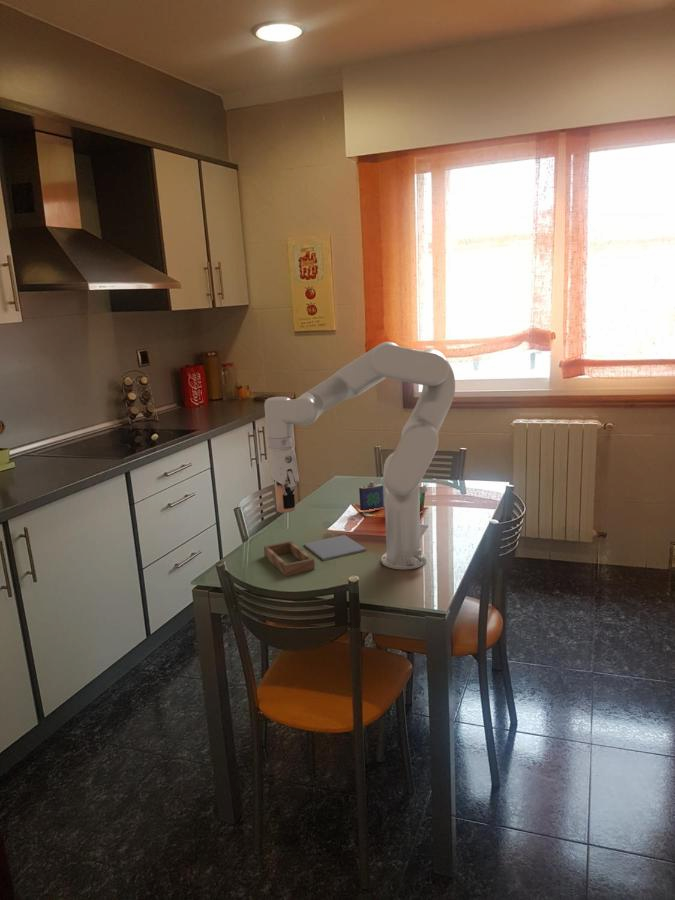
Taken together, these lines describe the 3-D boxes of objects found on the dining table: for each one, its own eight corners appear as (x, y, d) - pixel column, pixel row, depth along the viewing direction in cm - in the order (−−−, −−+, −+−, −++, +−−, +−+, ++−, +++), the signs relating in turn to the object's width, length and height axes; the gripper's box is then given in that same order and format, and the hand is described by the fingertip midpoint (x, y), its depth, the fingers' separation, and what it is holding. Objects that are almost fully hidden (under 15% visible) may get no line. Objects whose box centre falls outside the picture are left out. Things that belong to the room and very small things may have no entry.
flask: (382, 507, 234) (381, 478, 232) (386, 509, 232) (385, 480, 229) (358, 511, 231) (357, 482, 228) (362, 514, 228) (361, 484, 225)
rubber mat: (366, 550, 194) (366, 548, 194) (323, 560, 189) (323, 558, 188) (344, 536, 207) (344, 534, 207) (303, 545, 201) (303, 543, 201)
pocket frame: (314, 569, 183) (314, 559, 182) (285, 576, 179) (285, 565, 178) (291, 550, 198) (290, 540, 197) (264, 556, 194) (263, 546, 193)
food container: (389, 517, 223) (388, 488, 221) (392, 511, 229) (391, 483, 227) (425, 518, 220) (425, 489, 218) (427, 512, 226) (427, 484, 224)
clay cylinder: (297, 510, 184) (295, 486, 182) (280, 513, 182) (278, 489, 180) (290, 506, 188) (289, 482, 187) (274, 509, 186) (272, 485, 184)
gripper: (305, 445, 175) (310, 510, 179) (282, 435, 190) (286, 496, 194) (279, 449, 171) (284, 516, 176) (257, 439, 186) (262, 500, 190)
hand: (285, 504), depth 185 cm, fingers closed on clay cylinder, 5 cm apart
